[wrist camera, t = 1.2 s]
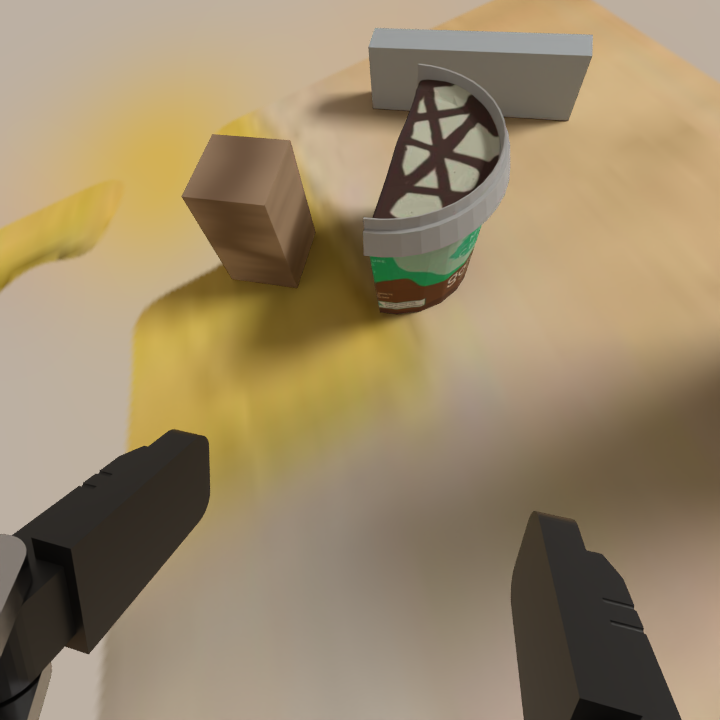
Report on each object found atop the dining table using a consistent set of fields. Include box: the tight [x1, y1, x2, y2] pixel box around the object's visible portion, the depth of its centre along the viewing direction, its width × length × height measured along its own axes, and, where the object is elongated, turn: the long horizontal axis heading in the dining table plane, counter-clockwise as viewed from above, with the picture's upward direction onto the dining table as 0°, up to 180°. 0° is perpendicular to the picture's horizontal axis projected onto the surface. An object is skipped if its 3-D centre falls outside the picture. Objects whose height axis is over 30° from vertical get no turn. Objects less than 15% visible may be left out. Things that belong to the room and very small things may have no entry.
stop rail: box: [369, 28, 593, 121], centre depth 35 cm, size 16×2×5 cm, turn 78°
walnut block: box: [182, 134, 315, 288], centre depth 29 cm, size 5×5×8 cm
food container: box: [363, 64, 510, 314], centre depth 26 cm, size 12×6×10 cm, turn 164°
